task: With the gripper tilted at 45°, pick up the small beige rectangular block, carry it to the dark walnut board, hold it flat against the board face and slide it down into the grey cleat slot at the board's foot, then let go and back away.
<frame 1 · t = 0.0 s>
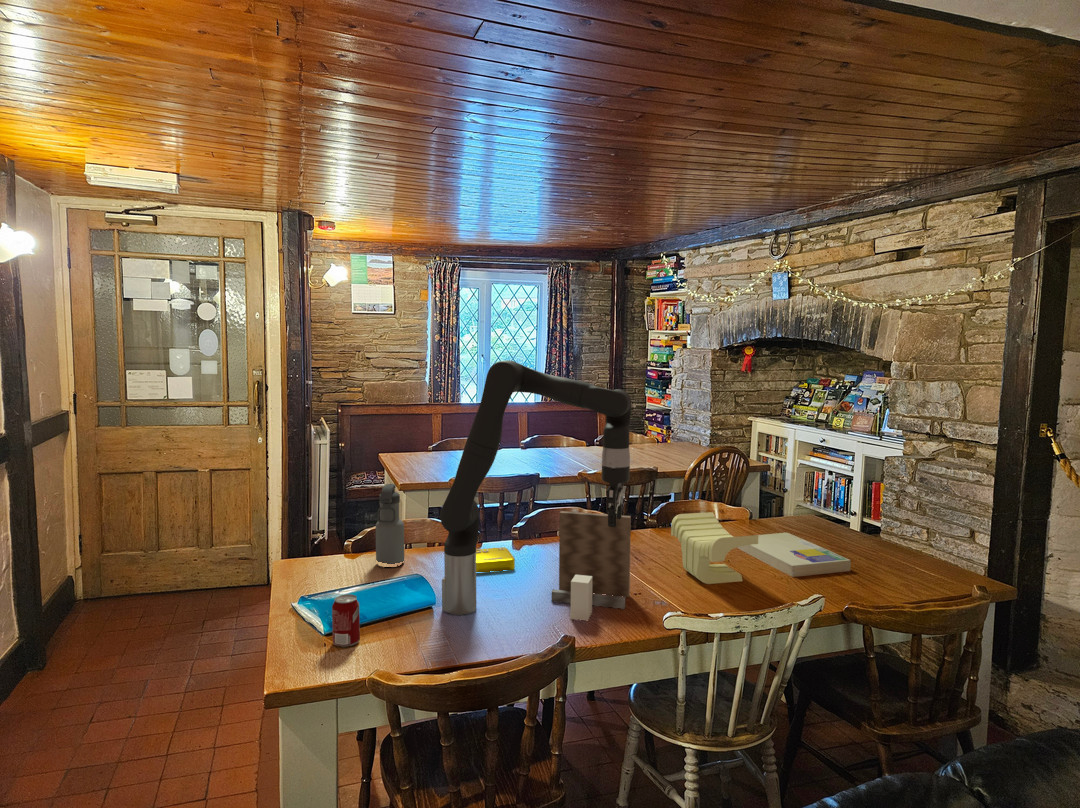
hand: (614, 522, 185), 29 cm above the table, tool pointing down, fingers open, 8 cm apart
wall board: (593, 592, 213), on the table
slatted curved stool: (711, 576, 229), on the table
water bottle: (390, 565, 239), on the table
beige rectangular block: (581, 616, 195), on the table
puzzle box: (788, 560, 248), on the table
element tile: (490, 567, 239), on the table
soda can: (346, 643, 176), on the table
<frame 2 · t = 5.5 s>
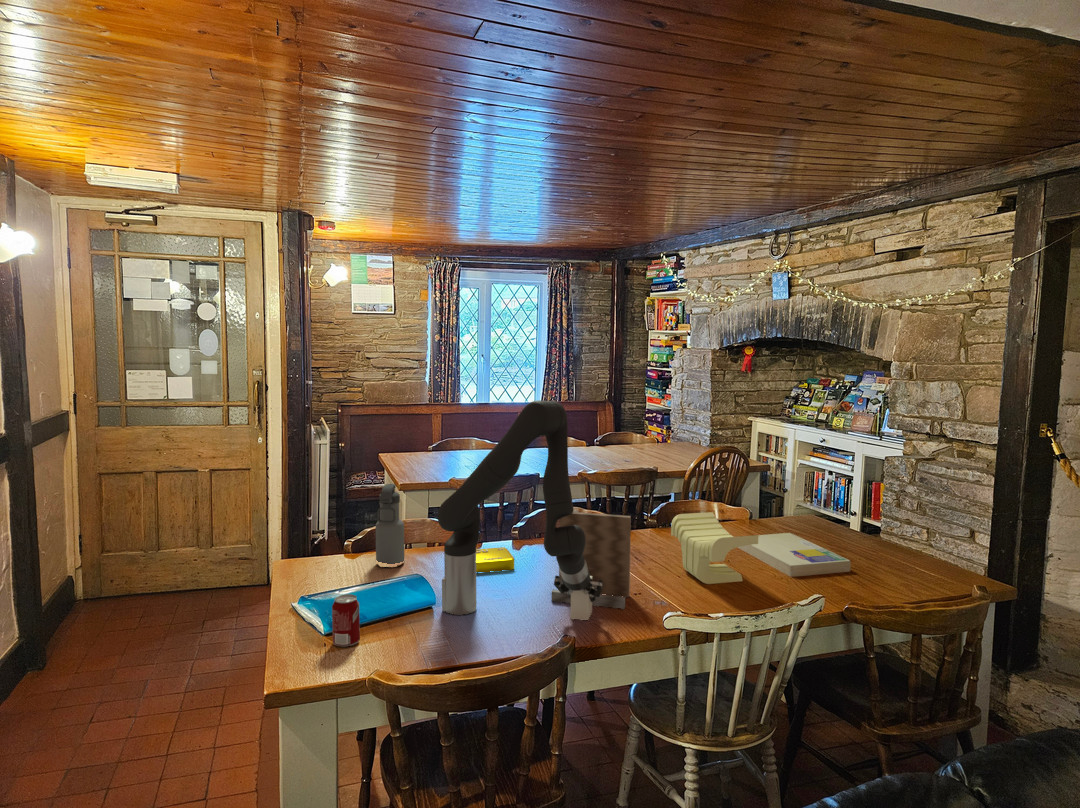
hand: (582, 597, 196), 5 cm above the table, tool tilted 45°, fingers closed on beige rectangular block, 5 cm apart
beige rectangular block: (581, 616, 195), on the table, touching gripper
everything else where it was.
when the fingers open (6 cm above the table, at t = 12.6 s): beige rectangular block drops 1 cm, on the table.
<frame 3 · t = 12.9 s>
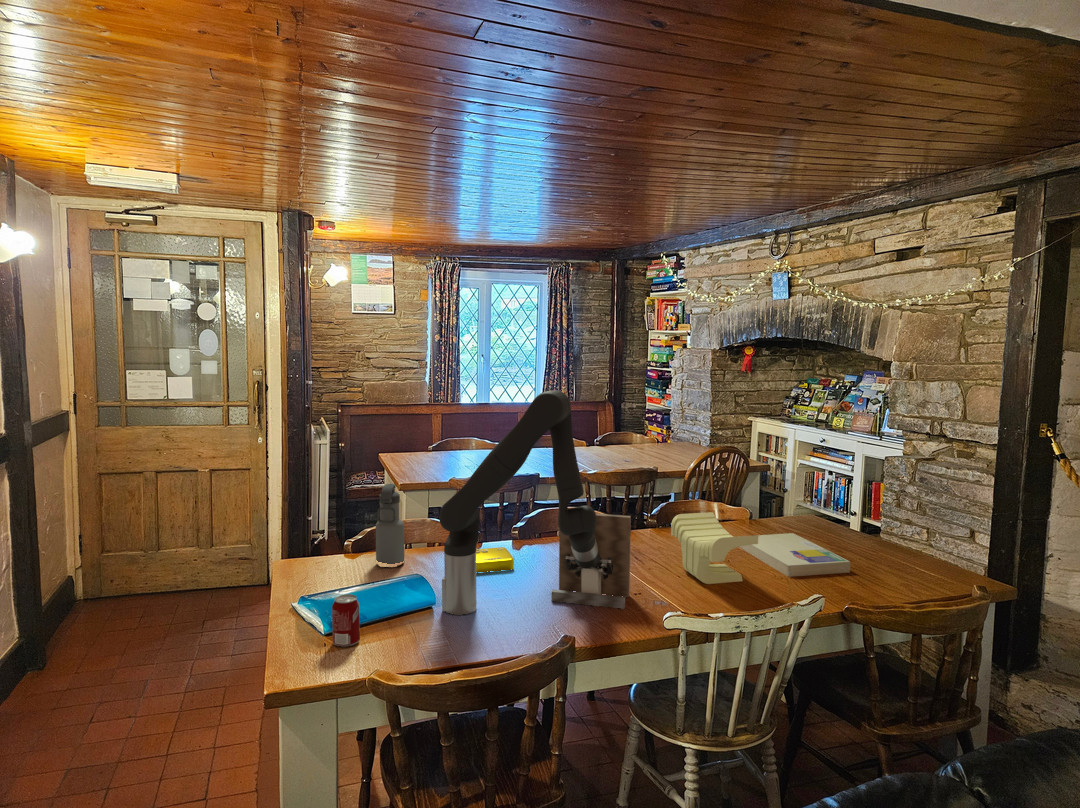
hand: (592, 575, 209), 7 cm above the table, tool tilted 45°, fingers open, 7 cm apart
beige rectangular block: (591, 598, 209), on the table
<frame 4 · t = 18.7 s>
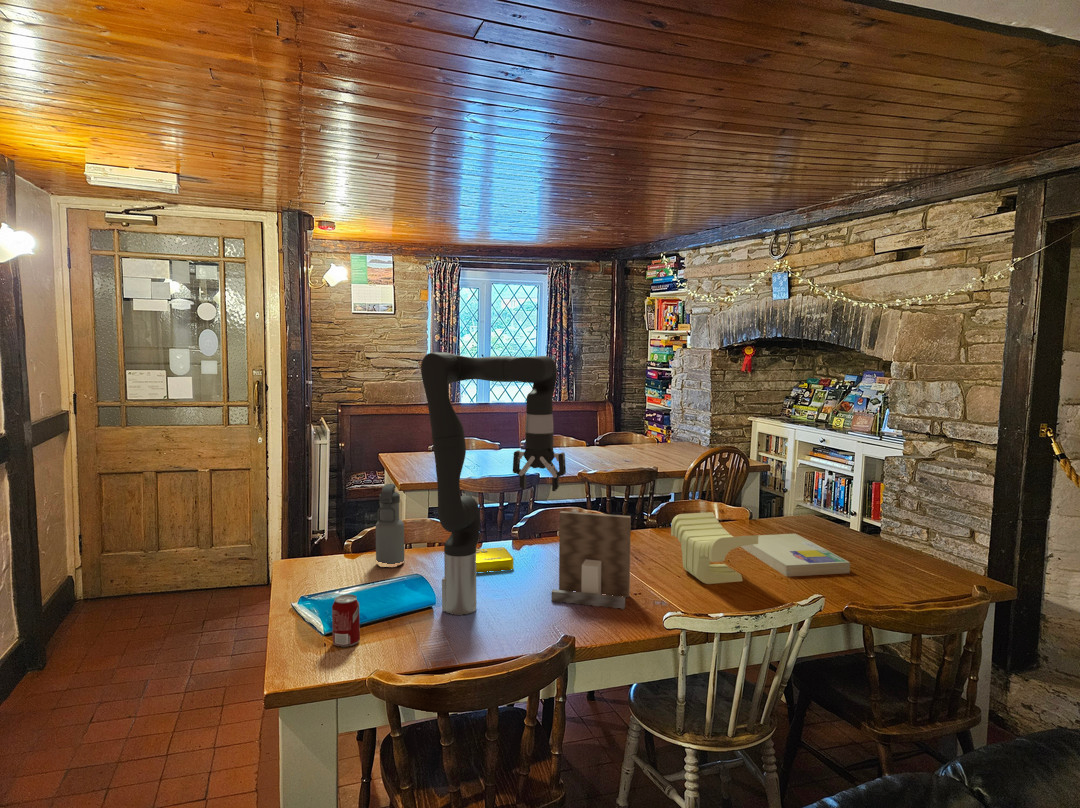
hand: (539, 489, 184), 38 cm above the table, tool pointing down, fingers open, 8 cm apart
at the end: beige rectangular block inside the target area on the wall board (0.0 cm from its centre), point 0.0 cm above the wall board's base; beige rectangular block tilted 0°; the gripper is holding nothing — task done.
